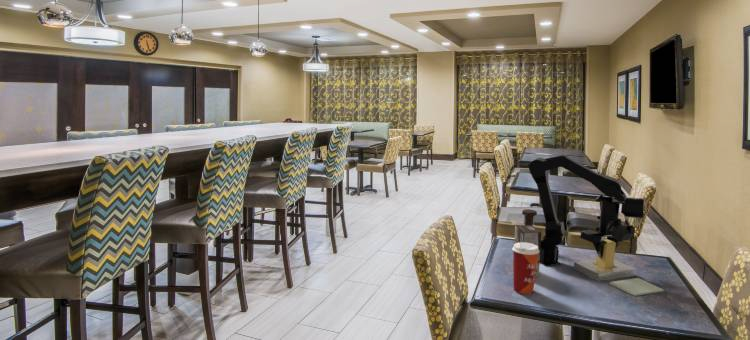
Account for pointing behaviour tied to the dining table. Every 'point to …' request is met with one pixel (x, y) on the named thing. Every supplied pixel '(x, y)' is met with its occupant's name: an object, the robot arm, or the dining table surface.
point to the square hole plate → (604, 270)
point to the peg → (607, 255)
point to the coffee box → (529, 239)
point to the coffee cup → (524, 266)
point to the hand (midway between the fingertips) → (605, 257)
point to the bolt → (529, 216)
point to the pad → (636, 286)
